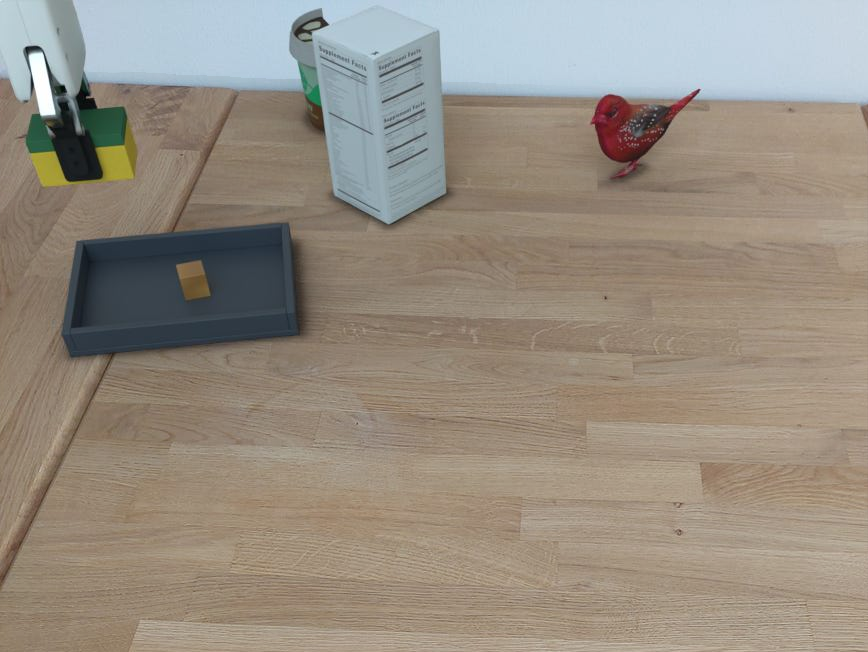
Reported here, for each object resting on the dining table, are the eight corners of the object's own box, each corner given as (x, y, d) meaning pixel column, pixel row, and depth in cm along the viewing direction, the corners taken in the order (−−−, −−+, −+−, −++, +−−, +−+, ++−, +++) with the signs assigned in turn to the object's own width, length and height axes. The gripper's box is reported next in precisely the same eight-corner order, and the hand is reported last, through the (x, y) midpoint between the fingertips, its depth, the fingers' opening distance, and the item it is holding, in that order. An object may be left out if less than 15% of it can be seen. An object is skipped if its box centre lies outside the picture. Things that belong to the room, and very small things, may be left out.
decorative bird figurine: (574, 190, 109) (582, 97, 100) (682, 138, 115) (697, 48, 107) (592, 200, 107) (601, 107, 99) (700, 148, 114) (716, 57, 106)
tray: (70, 357, 91) (60, 334, 89) (84, 263, 100) (76, 240, 98) (299, 334, 93) (294, 311, 91) (292, 244, 102) (288, 221, 100)
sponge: (42, 187, 85) (24, 142, 82) (48, 158, 88) (31, 113, 85) (134, 179, 86) (120, 133, 82) (137, 151, 88) (124, 105, 85)
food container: (285, 105, 120) (270, 16, 112) (331, 94, 122) (319, 6, 114) (322, 149, 114) (309, 58, 106) (369, 137, 116) (360, 47, 108)
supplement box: (449, 194, 108) (444, 29, 94) (389, 227, 104) (375, 60, 91) (390, 164, 112) (377, 1, 98) (330, 195, 108) (308, 29, 94)
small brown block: (186, 301, 96) (179, 278, 94) (182, 286, 97) (175, 264, 95) (211, 296, 96) (205, 273, 94) (207, 282, 97) (201, 259, 95)
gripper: (-30, -116, 76) (54, 120, 91) (-68, -32, 66) (34, 218, 81) (67, -122, 77) (135, 113, 91) (44, -40, 67) (125, 209, 82)
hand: (87, 160), depth 86 cm, fingers closed on sponge, 5 cm apart
